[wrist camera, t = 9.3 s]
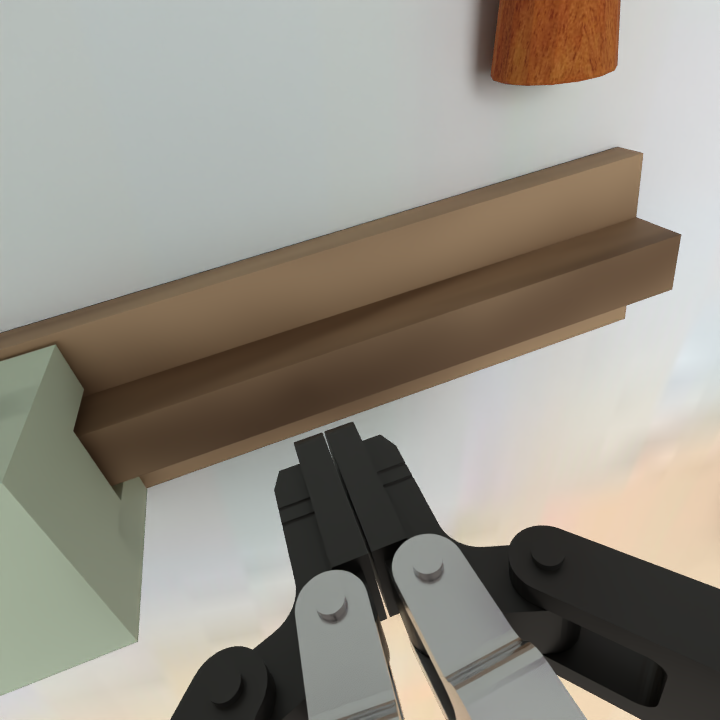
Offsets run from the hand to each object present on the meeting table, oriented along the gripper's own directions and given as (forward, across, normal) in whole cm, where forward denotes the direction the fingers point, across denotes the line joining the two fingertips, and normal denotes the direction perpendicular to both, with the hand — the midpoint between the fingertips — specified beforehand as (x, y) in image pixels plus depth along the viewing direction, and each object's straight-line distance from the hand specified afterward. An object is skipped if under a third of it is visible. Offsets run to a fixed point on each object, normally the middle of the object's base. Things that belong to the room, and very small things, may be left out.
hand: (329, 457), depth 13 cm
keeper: (+5, +8, 0) cm, 10 cm away
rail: (+6, 0, 0) cm, 7 cm away
